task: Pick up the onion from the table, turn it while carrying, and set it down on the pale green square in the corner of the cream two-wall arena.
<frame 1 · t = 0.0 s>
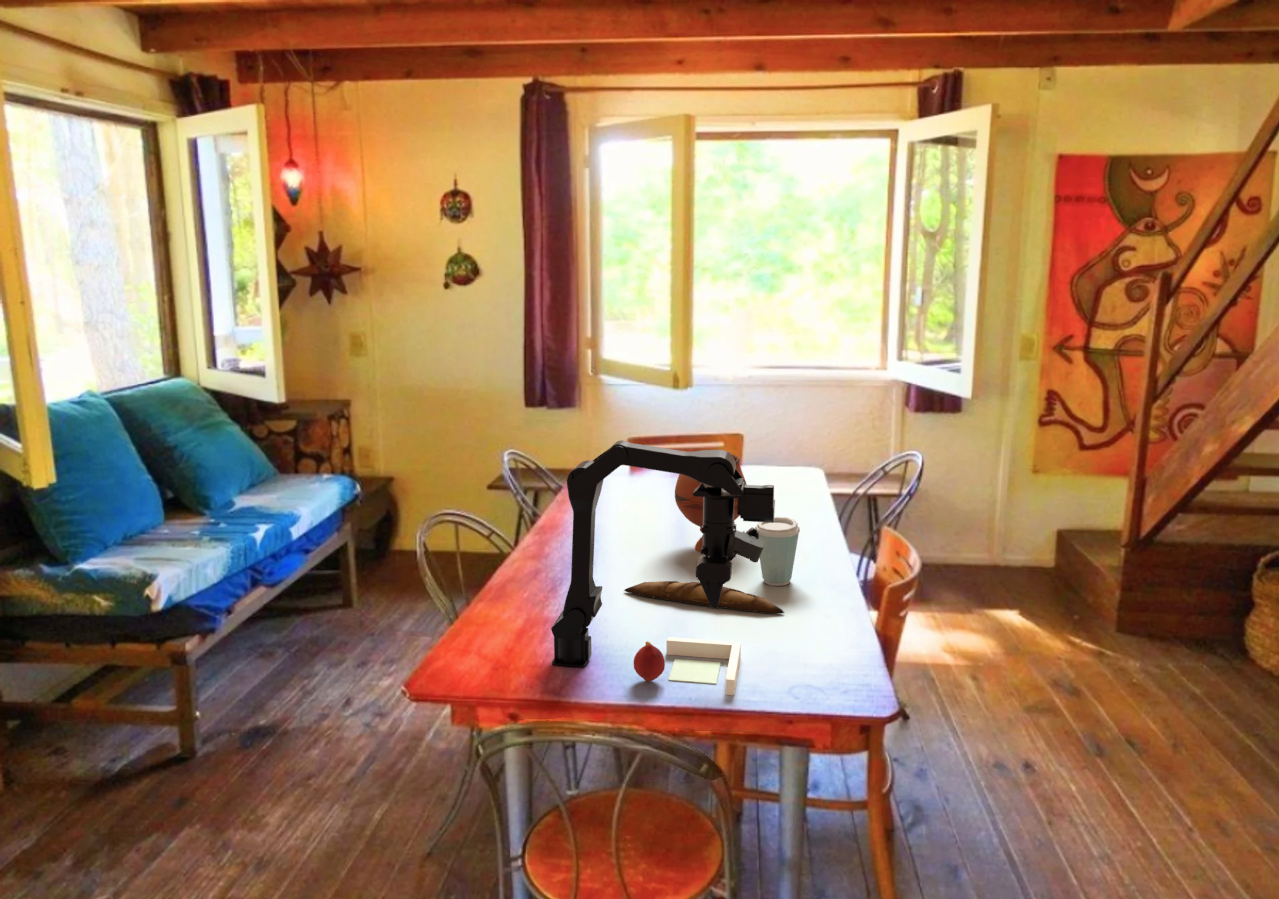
hand: (716, 599, 179), 15 cm above the table, tool pointing down, fingers open, 9 cm apart
disposable coffee cup: (775, 582, 229), on the table
goblet: (710, 549, 254), on the table
bread: (701, 605, 216), on the table
onion: (649, 682, 178), on the table
arena: (695, 671, 182), on the table
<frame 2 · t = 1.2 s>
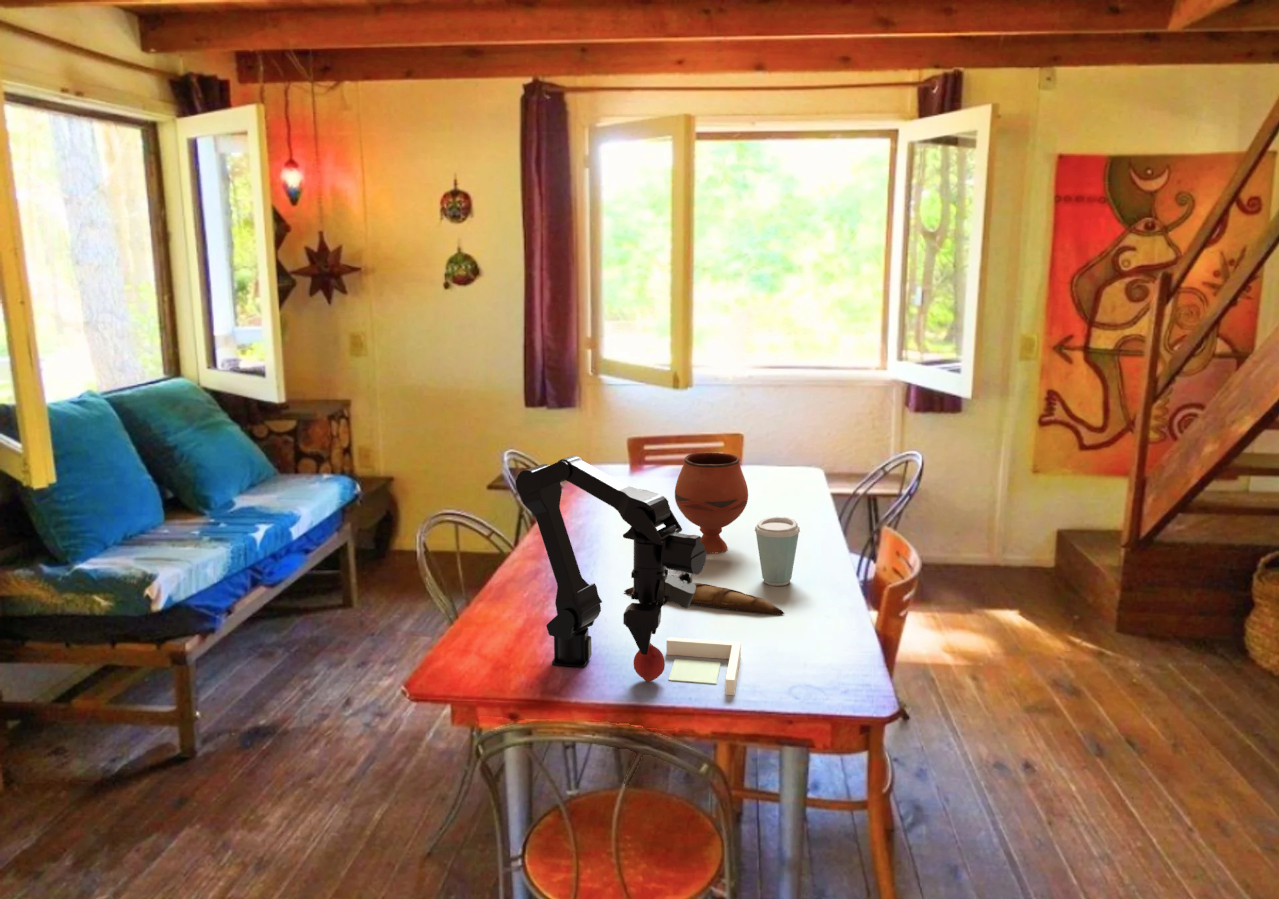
hand: (648, 643, 176), 8 cm above the table, tool pointing down, fingers open, 9 cm apart
nothing on the table moved.
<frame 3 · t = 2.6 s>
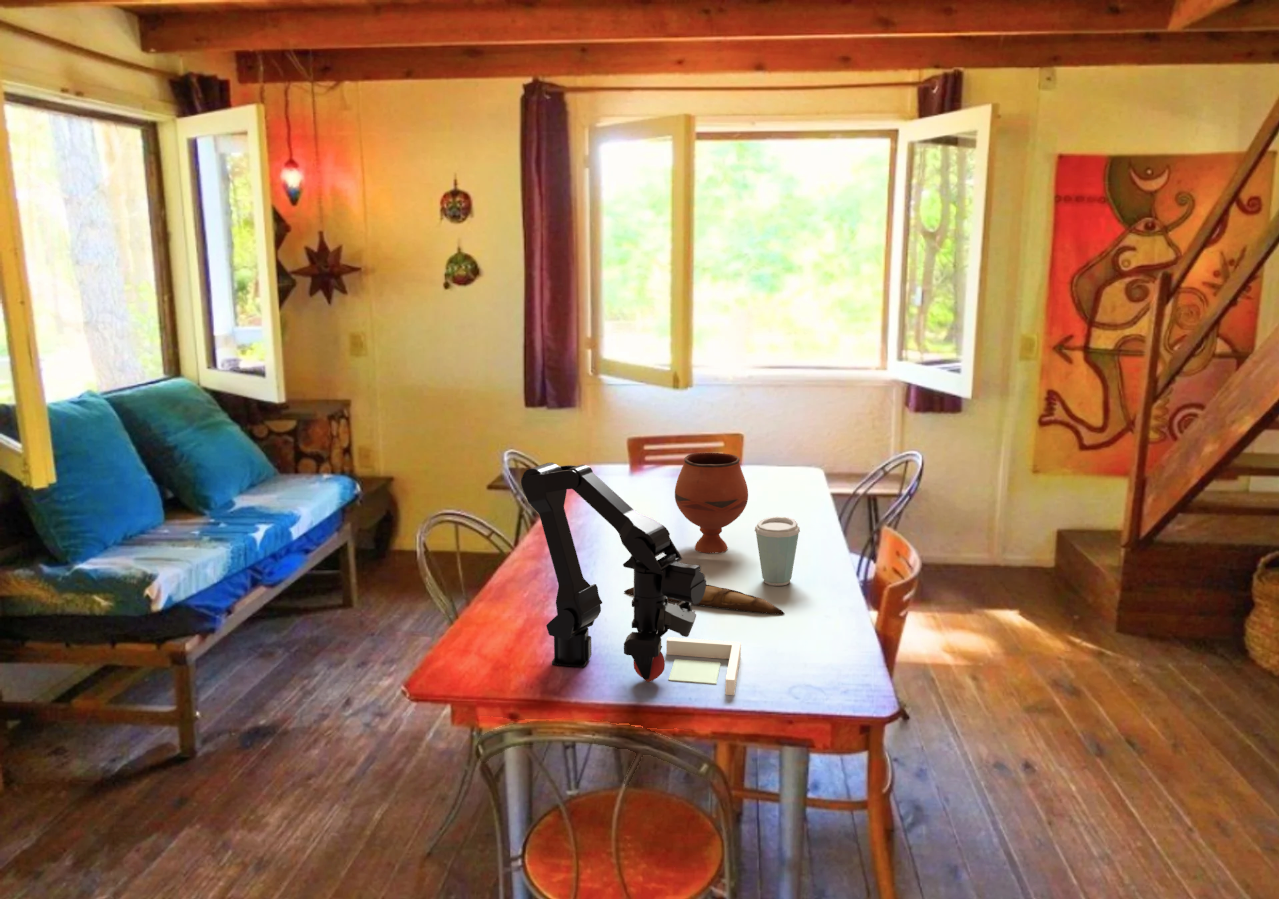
hand: (649, 671, 177), 2 cm above the table, tool pointing down, fingers closed on onion, 6 cm apart
onion: (649, 682, 178), on the table, touching gripper
everything else where it was.
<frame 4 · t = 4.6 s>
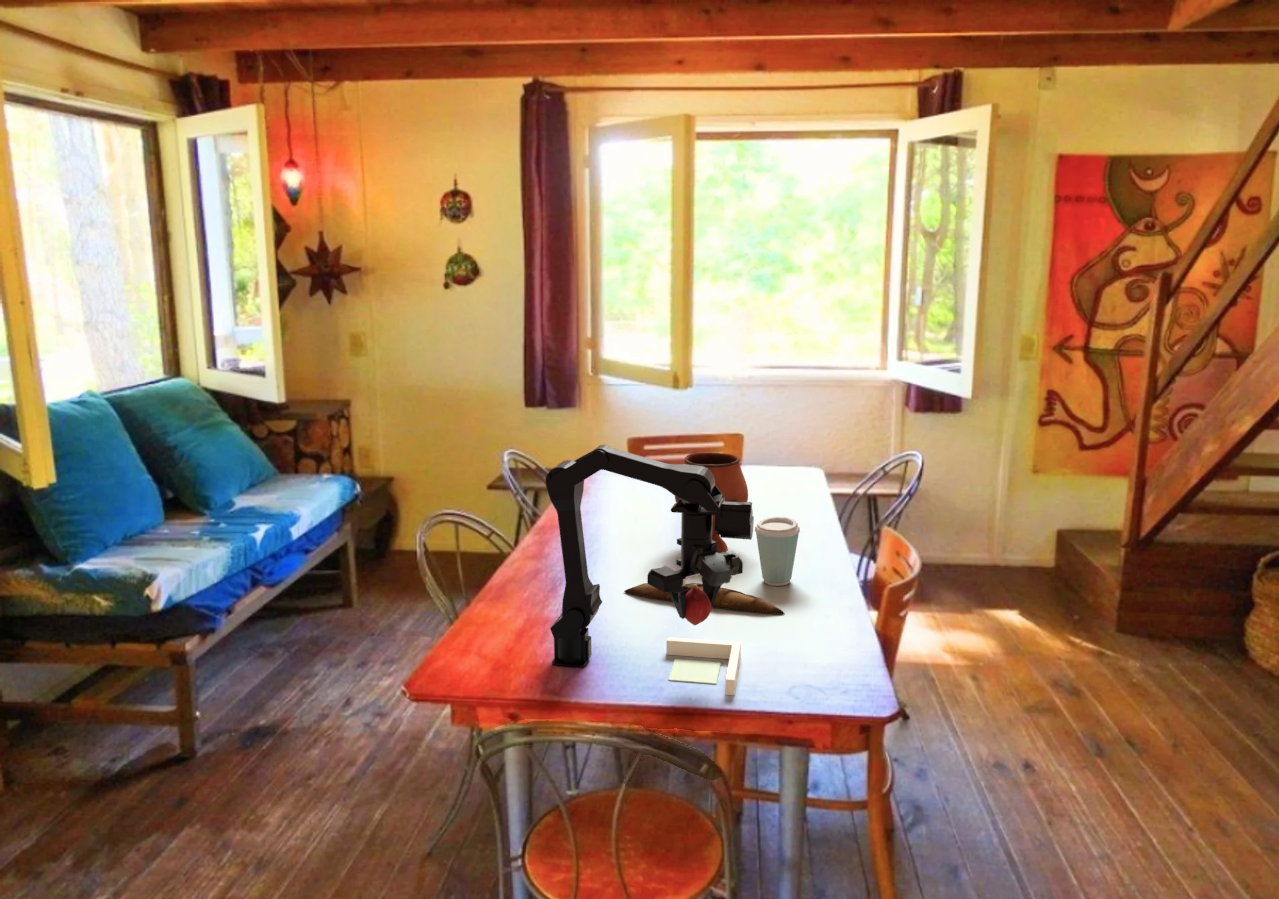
hand: (695, 614, 179), 12 cm above the table, tool pointing down, fingers closed on onion, 6 cm apart
onion: (695, 625, 180), point 9 cm above the table, touching gripper
everything else where it was.
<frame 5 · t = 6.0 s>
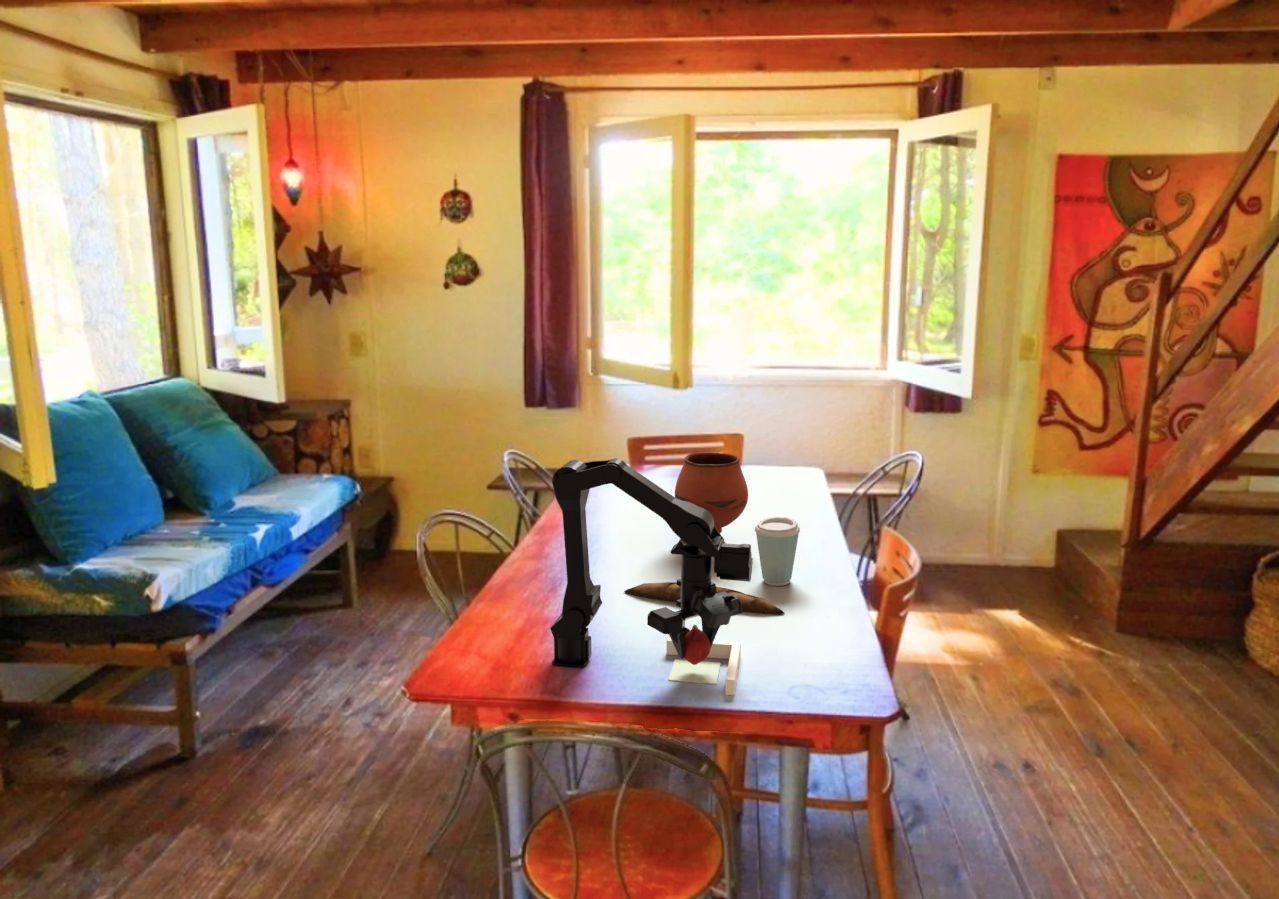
hand: (694, 654, 181), 4 cm above the table, tool pointing down, fingers closed on onion, 6 cm apart
onion: (694, 665, 181), point 1 cm above the table, touching gripper
everything else where it was.
when the fingers open (3 cm above the table, at t = 6.9 s): onion drops 1 cm, resting on arena.
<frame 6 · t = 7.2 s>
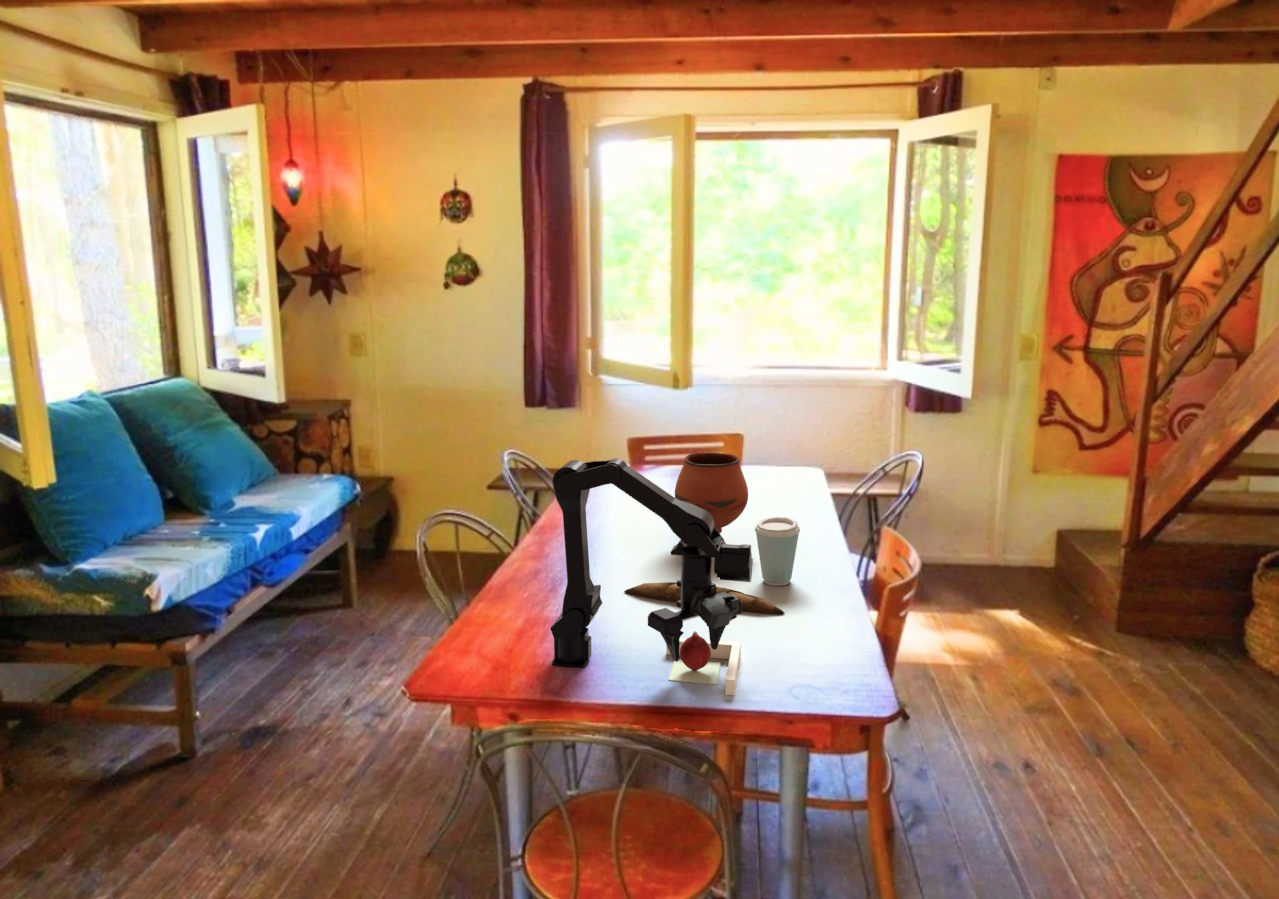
hand: (695, 654, 181), 3 cm above the table, tool pointing down, fingers open, 9 cm apart
onion: (694, 671, 182), resting on arena
everything else where it was.
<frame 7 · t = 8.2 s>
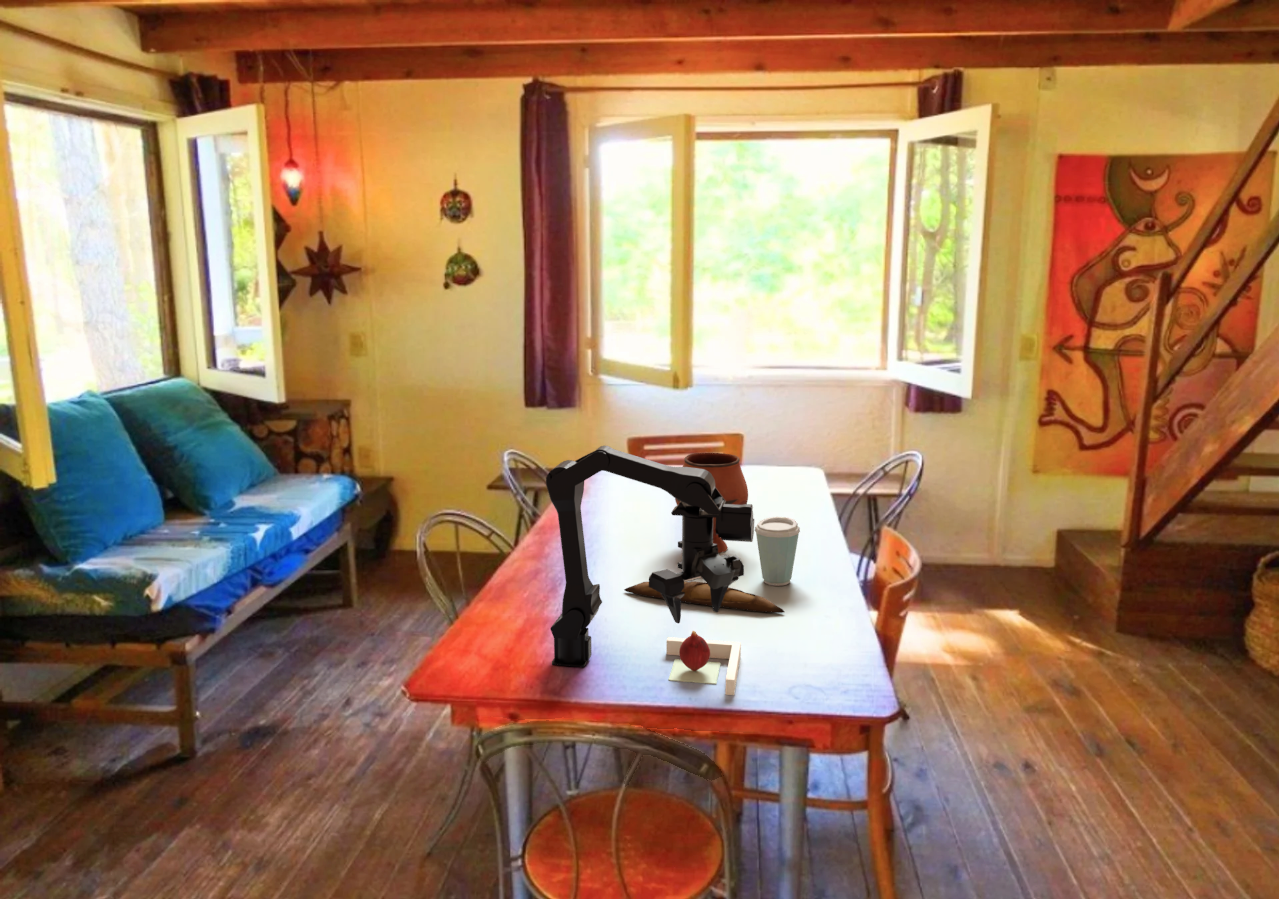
hand: (696, 617, 179), 11 cm above the table, tool pointing down, fingers open, 9 cm apart
nothing on the table moved.
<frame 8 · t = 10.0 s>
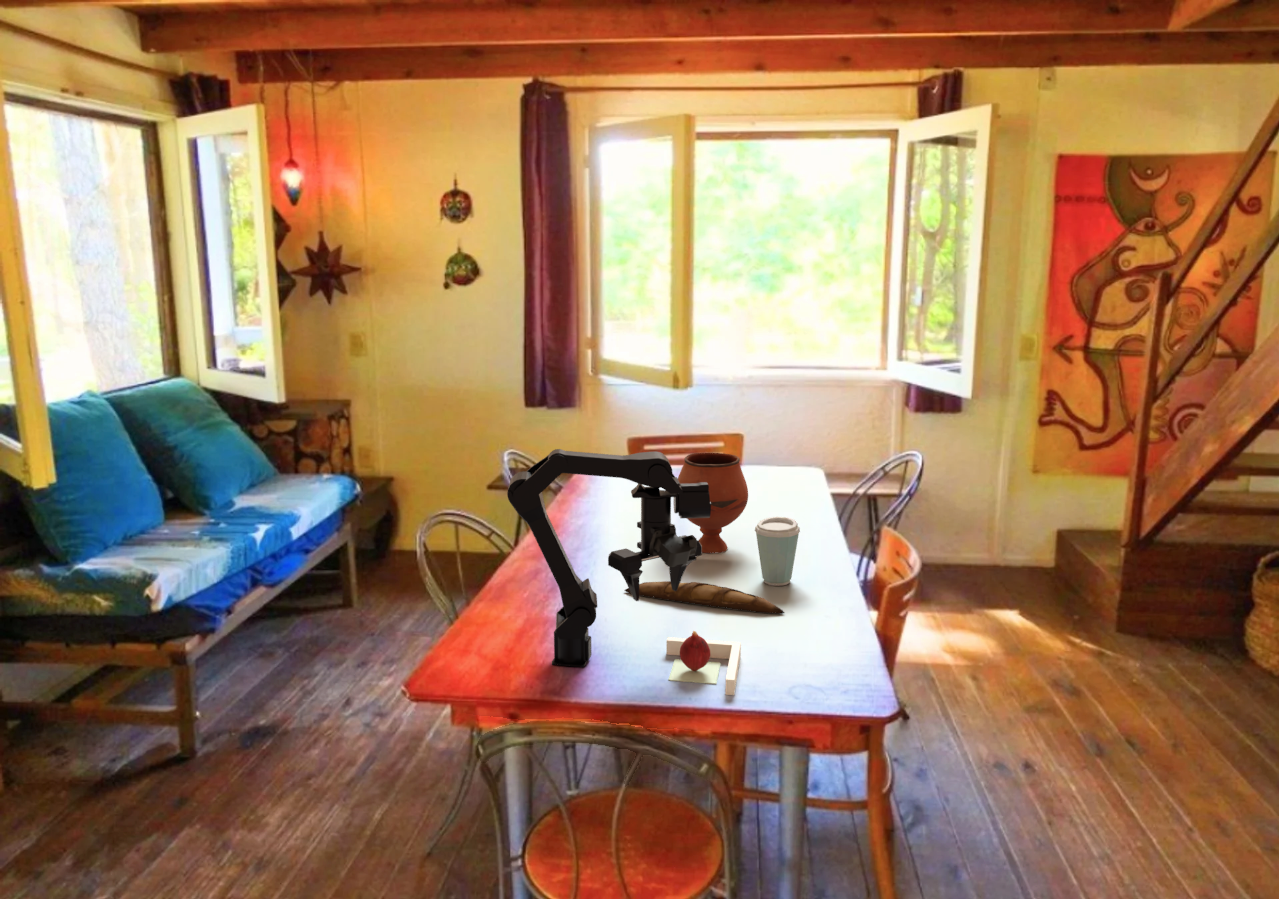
hand: (655, 595, 185), 13 cm above the table, tool pointing down, fingers open, 9 cm apart
nothing on the table moved.
at the end: onion inside the target area on the arena (0.1 cm from its centre), point 0.0 cm above the arena's base; the gripper is holding nothing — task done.
